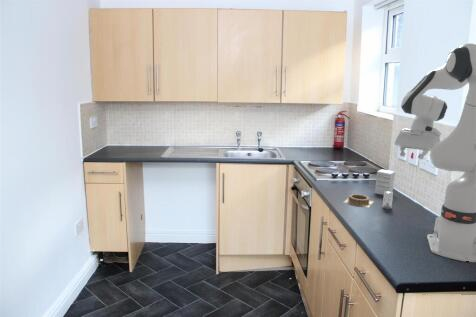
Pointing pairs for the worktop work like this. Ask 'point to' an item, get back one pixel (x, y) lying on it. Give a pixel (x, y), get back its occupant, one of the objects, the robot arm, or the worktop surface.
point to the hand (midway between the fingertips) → (410, 157)
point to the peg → (387, 200)
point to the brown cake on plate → (359, 200)
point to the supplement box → (384, 181)
